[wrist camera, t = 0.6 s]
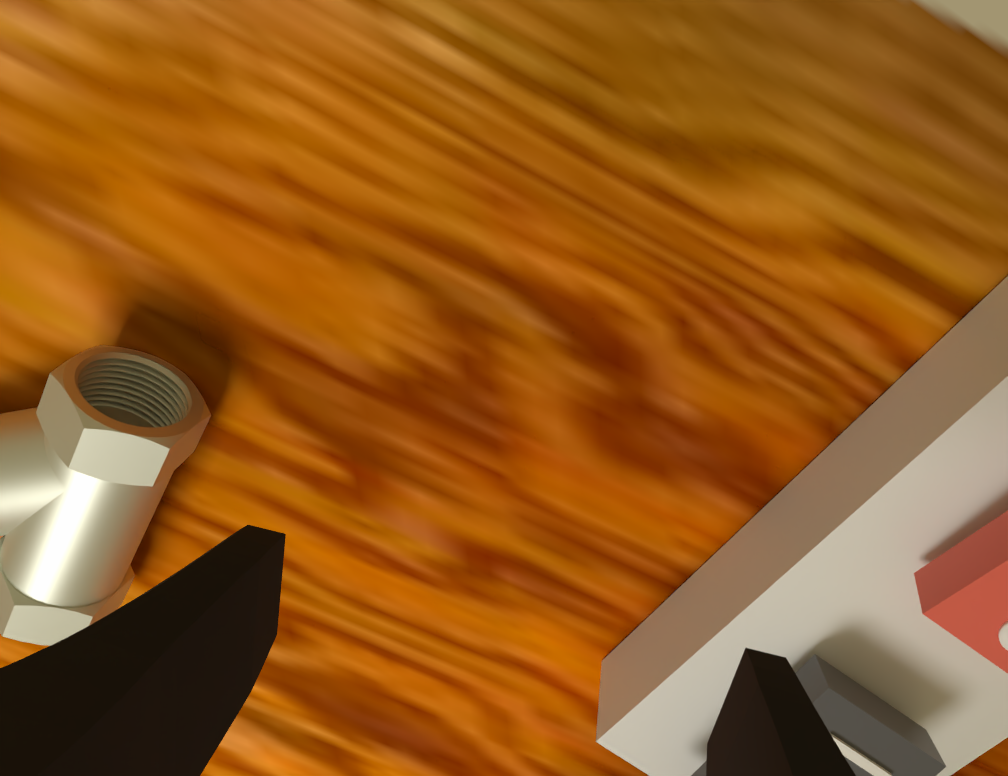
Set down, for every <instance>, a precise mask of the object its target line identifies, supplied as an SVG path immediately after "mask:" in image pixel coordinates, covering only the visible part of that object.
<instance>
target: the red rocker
mask: <svg viewBox="0 0 1008 776" xmlns="http://www.w3.org/2000/svg"><path fill="white" fill-rule="evenodd" d="M914 577H915V581H916V586H917V590H918V595H919V600H920V604H921V609H922V614H923V615H925V616H926V617H928V618H929V619H931V620H932V621H933V622H935V623H936V624H938V625H939V626H941V627H942V628H943V629H945V630H946V631H948V632H949V633H951V634H952V635H953V636H955V637H956V638H958V639H959V640H961V641H962V642H963V643H965V644H966V645H968V646H969V647H970V648H972V649H973V650H975V651H976V652H978V653H979V654H980V655H982V656H983V657H985V658H986V659H988V660H989V661H990V662H992V663H993V664H995V665H996V666H998V667H999V668H1000V669H1002V670H1003V671H1005V672H1006V673H1008V510H1007V511H1006V512H1004V513H1003V514H1002V515H1000V516H999V517H997V518H996V519H994V520H993V521H991V522H990V523H988V524H987V525H985V526H984V527H982V528H981V529H979V530H978V531H976V532H975V533H973V534H972V535H970V536H969V537H967V538H966V539H964V540H963V541H961V542H960V543H958V544H957V545H955V546H954V547H952V548H951V549H949V550H948V551H946V552H945V553H943V554H942V555H940V556H939V557H937V558H936V559H934V560H933V561H931V562H930V563H928V564H927V565H925V566H924V567H922V568H921V569H919V570H918V571H916V572H915V573H914Z"/></svg>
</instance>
